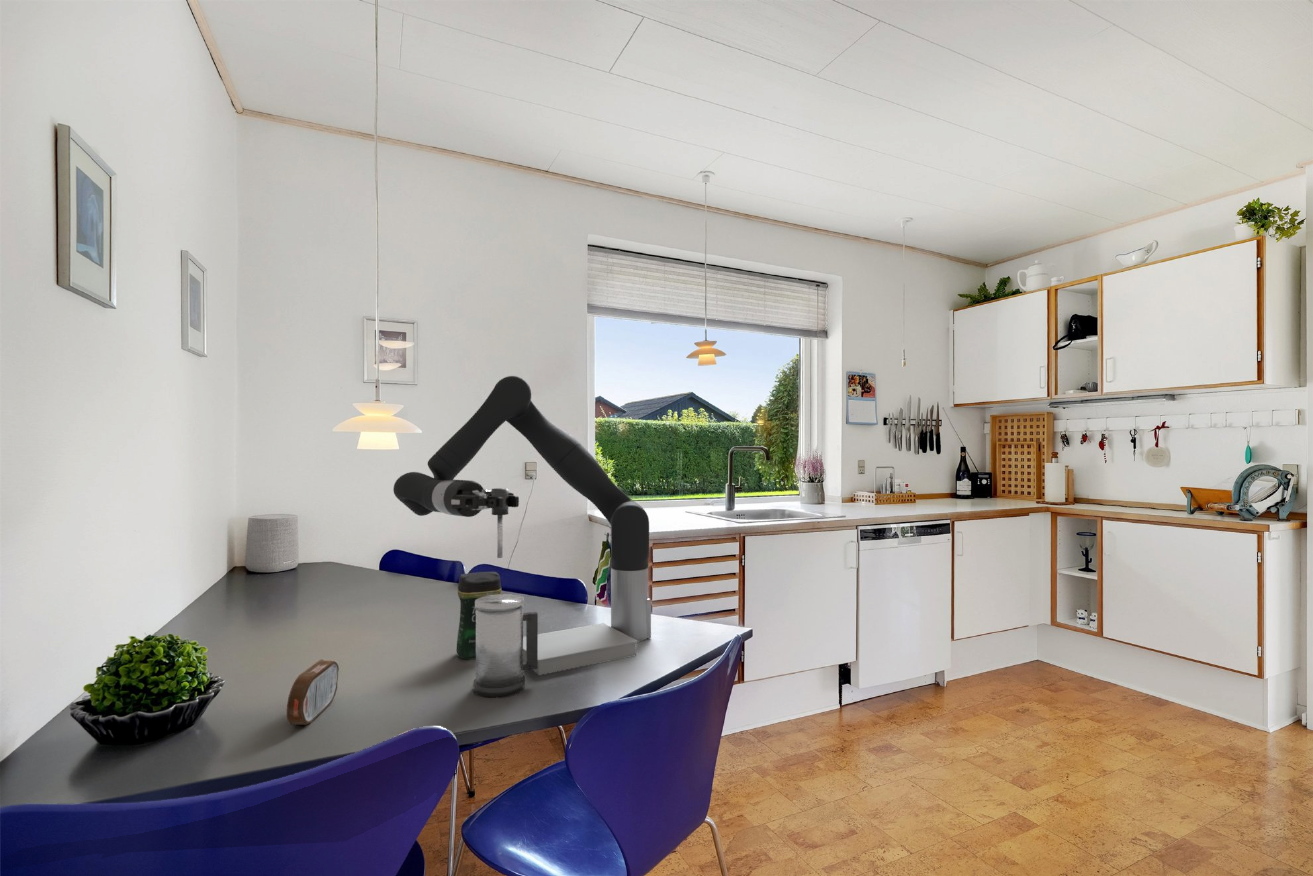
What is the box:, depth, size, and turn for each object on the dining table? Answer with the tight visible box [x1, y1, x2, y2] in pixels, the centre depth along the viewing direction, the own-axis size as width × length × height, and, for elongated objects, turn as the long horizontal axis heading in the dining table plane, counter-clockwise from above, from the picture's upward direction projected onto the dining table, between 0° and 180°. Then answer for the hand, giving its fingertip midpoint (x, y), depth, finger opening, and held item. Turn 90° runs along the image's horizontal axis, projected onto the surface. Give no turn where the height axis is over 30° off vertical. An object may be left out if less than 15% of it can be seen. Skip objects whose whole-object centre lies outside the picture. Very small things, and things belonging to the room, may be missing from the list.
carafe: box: [473, 593, 539, 699], centre depth 124 cm, size 12×10×17 cm
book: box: [523, 622, 639, 676], centre depth 144 cm, size 18×4×24 cm
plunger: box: [491, 487, 509, 559], centre depth 124 cm, size 3×3×14 cm
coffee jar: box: [456, 571, 502, 660], centre depth 144 cm, size 10×8×19 cm
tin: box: [286, 659, 340, 726], centre depth 112 cm, size 15×3×8 cm, turn 5°
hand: (509, 502), depth 122 cm, fingers closed on plunger, 3 cm apart
